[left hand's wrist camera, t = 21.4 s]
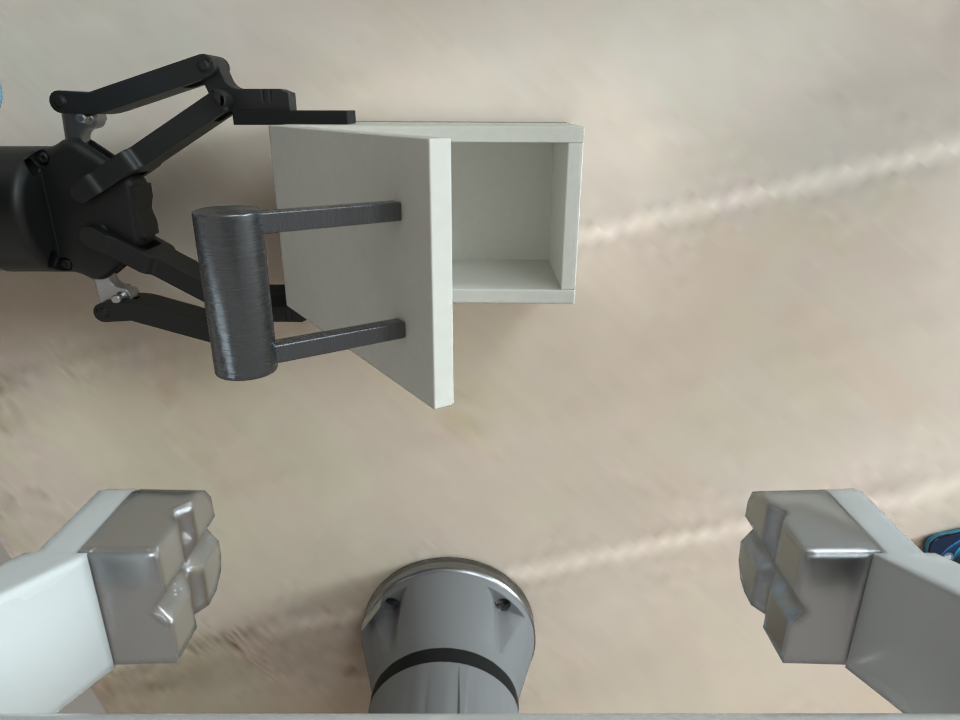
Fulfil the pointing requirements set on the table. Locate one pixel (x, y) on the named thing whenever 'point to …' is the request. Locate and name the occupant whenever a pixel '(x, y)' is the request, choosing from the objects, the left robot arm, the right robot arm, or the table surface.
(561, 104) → the table surface
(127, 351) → the table surface
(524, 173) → the chest
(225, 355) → the lid
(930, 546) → the smartphone
